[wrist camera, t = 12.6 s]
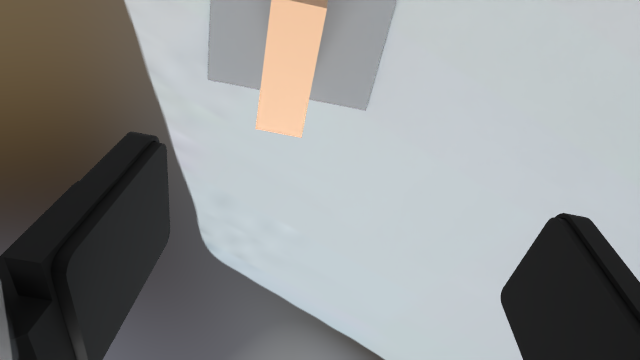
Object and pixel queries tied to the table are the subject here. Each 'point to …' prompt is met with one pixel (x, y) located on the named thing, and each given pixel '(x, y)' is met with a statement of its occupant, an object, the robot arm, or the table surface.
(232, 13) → the rubber mat
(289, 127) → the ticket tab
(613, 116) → the table surface
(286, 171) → the table surface
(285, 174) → the table surface
